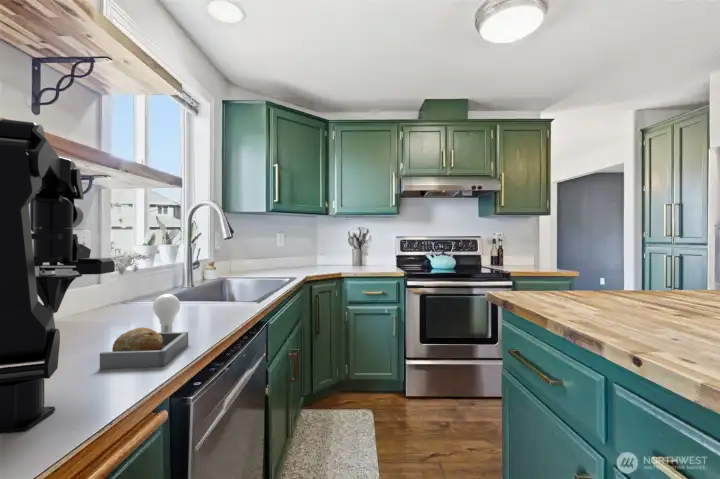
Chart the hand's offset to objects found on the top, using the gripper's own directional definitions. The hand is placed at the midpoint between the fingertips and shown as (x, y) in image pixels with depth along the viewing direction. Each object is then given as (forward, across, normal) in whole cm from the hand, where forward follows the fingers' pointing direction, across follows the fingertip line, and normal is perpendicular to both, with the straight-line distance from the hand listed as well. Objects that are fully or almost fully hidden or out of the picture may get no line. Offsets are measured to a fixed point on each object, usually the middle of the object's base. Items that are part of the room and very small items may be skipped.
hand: (53, 312), depth 71 cm
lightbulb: (+12, -10, -29) cm, 33 cm away
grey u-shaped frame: (+12, -12, -12) cm, 21 cm away
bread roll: (+12, -10, -12) cm, 20 cm away
